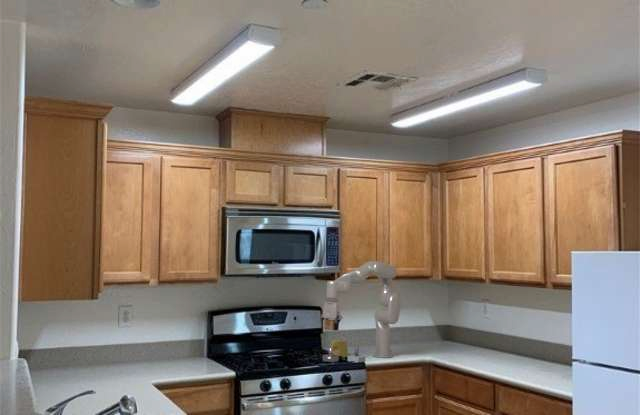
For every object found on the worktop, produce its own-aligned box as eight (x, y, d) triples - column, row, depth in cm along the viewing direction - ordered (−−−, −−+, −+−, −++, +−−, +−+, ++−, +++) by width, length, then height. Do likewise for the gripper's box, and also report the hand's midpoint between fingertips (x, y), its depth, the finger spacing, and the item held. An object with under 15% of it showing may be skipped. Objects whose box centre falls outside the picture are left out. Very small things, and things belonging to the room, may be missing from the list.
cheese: (347, 357, 399) (348, 342, 400) (331, 357, 399) (331, 341, 400) (347, 355, 409) (347, 340, 410) (331, 354, 410) (331, 339, 411)
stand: (354, 359, 392) (354, 345, 392) (365, 361, 387) (365, 346, 388) (347, 361, 385) (347, 346, 386) (358, 362, 380) (358, 347, 381)
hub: (328, 358, 391) (329, 346, 392) (341, 360, 385) (342, 347, 386) (319, 360, 383) (319, 347, 384) (332, 362, 377) (332, 349, 378)
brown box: (329, 329, 390) (329, 319, 391) (338, 330, 386) (339, 320, 387) (322, 329, 385) (323, 319, 385) (332, 330, 381) (332, 320, 381)
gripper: (317, 299, 390) (316, 328, 388) (340, 301, 379) (339, 330, 378) (324, 299, 396) (323, 327, 394) (346, 301, 385) (345, 330, 384)
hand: (330, 328), depth 386 cm, fingers closed on brown box, 7 cm apart
